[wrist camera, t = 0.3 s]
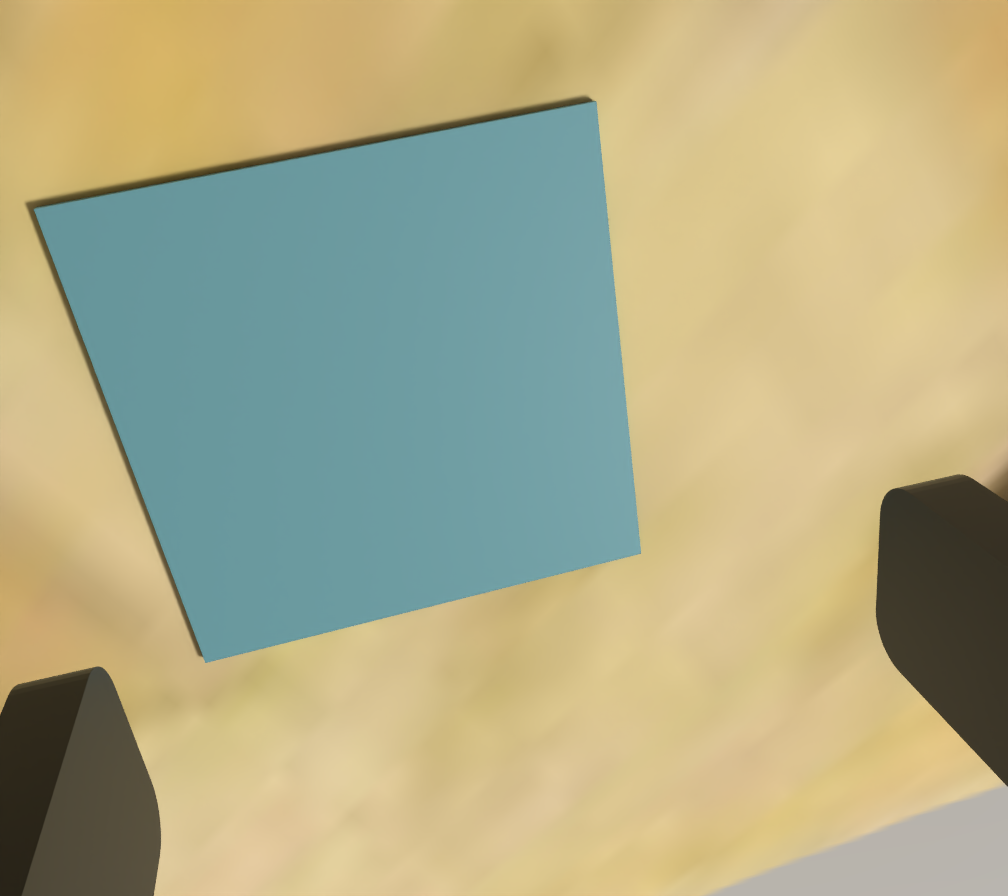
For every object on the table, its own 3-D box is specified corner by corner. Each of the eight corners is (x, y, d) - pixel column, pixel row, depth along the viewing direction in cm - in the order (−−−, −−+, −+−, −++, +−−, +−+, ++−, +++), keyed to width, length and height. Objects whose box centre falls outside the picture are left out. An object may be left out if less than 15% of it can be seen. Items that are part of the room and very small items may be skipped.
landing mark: (35, 207, 23) (33, 209, 23) (593, 100, 25) (596, 101, 24) (205, 658, 29) (205, 663, 29) (638, 550, 31) (640, 553, 31)
